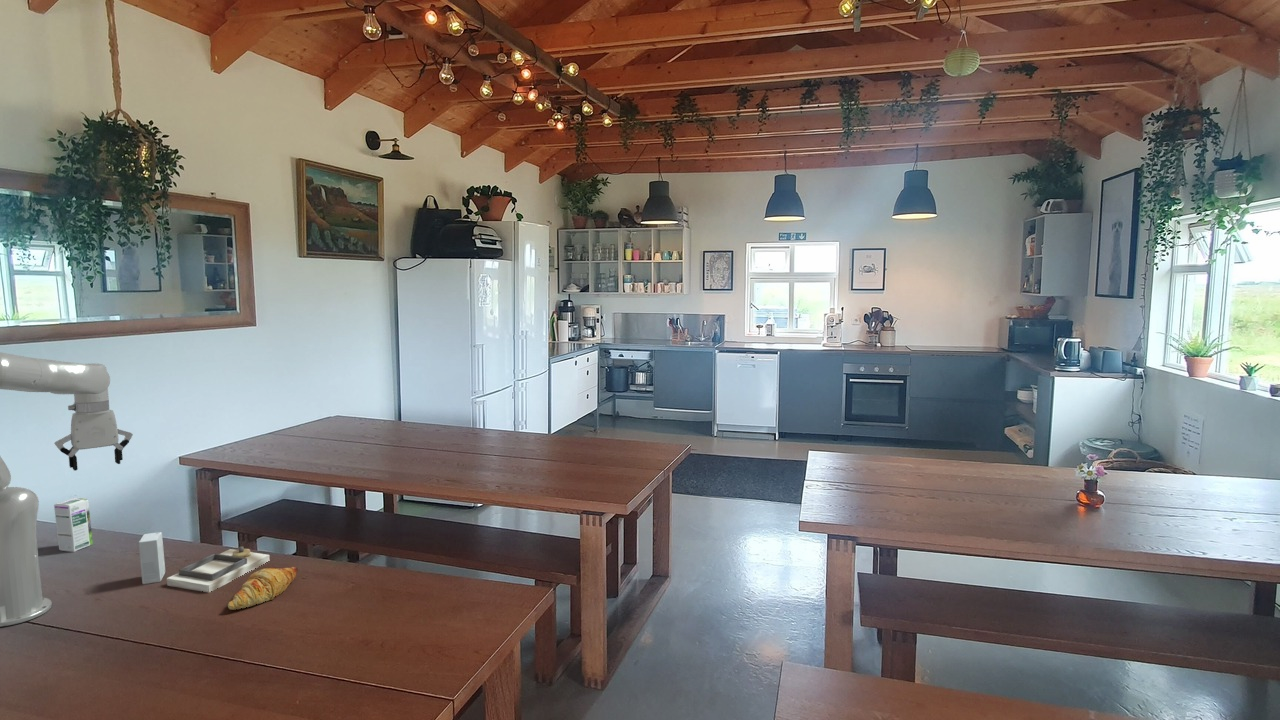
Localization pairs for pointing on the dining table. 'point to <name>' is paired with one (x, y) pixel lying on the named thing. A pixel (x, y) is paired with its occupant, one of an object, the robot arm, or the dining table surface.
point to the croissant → (263, 587)
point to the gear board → (217, 570)
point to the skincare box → (152, 557)
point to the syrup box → (73, 524)
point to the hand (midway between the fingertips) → (96, 466)
